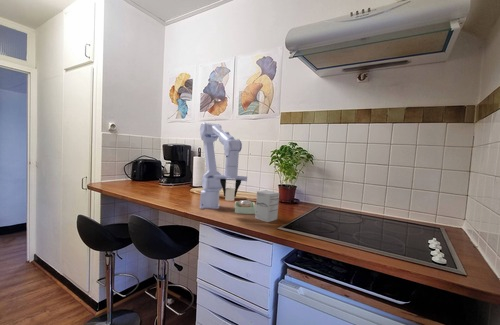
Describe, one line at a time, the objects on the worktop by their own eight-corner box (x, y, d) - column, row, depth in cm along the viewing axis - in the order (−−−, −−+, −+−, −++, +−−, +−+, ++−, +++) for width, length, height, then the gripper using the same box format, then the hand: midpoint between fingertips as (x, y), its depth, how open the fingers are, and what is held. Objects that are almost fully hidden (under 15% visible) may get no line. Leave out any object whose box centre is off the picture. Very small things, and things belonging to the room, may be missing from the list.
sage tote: (234, 214, 110) (235, 206, 110) (234, 207, 122) (235, 201, 122) (255, 215, 111) (256, 207, 111) (253, 208, 123) (254, 202, 123)
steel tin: (239, 211, 115) (239, 202, 114) (239, 208, 120) (239, 199, 120) (250, 211, 115) (251, 202, 115) (250, 208, 121) (250, 200, 120)
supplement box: (254, 219, 104) (256, 191, 104) (265, 216, 110) (266, 189, 109) (267, 223, 99) (269, 194, 99) (277, 220, 105) (279, 192, 104)
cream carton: (225, 200, 103) (225, 189, 103) (225, 198, 107) (226, 187, 107) (234, 200, 103) (234, 189, 103) (234, 199, 107) (234, 188, 107)
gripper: (214, 165, 100) (212, 197, 101) (248, 167, 101) (246, 198, 102) (215, 164, 107) (214, 194, 108) (247, 166, 108) (245, 195, 109)
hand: (229, 196), depth 105 cm, fingers closed on cream carton, 4 cm apart
